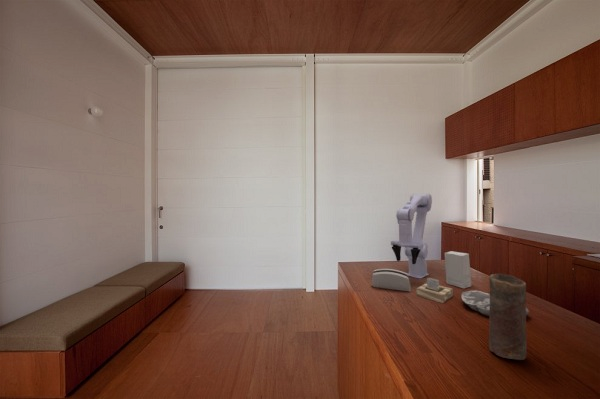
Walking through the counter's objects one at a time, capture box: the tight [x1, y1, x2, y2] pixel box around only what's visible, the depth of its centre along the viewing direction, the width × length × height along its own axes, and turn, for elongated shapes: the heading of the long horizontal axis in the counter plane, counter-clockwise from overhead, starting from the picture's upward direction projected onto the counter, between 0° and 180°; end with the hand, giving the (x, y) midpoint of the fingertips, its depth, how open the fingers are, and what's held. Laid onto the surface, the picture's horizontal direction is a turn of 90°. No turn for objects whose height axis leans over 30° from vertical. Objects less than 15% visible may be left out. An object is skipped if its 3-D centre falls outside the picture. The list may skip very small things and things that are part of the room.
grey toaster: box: [371, 268, 412, 292], centre depth 110 cm, size 17×5×10 cm, turn 64°
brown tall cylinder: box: [488, 273, 527, 361], centre depth 63 cm, size 8×7×20 cm
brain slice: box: [460, 290, 530, 317], centre depth 88 cm, size 20×17×3 cm
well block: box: [416, 282, 454, 304], centre depth 100 cm, size 10×10×3 cm
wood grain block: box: [426, 277, 441, 292], centre depth 100 cm, size 4×4×6 cm
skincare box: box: [444, 250, 472, 289], centre depth 111 cm, size 8×6×15 cm
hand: (406, 262), depth 116 cm, fingers open, 7 cm apart
